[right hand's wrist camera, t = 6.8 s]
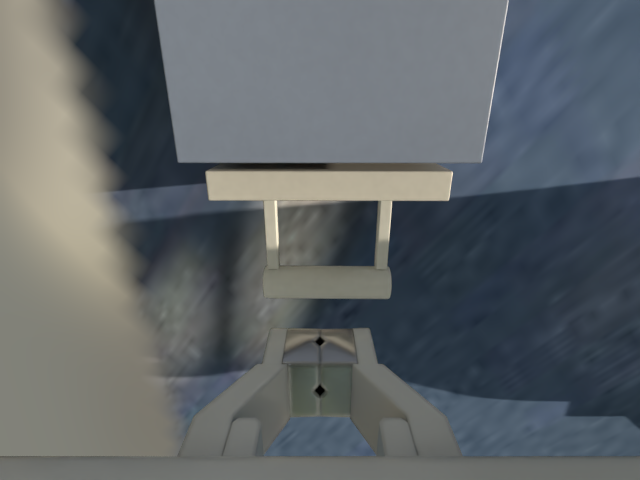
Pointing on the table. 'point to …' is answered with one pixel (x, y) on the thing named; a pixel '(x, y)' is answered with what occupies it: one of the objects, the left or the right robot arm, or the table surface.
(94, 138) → the table surface
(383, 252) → the drawer
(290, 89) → the cabinet
